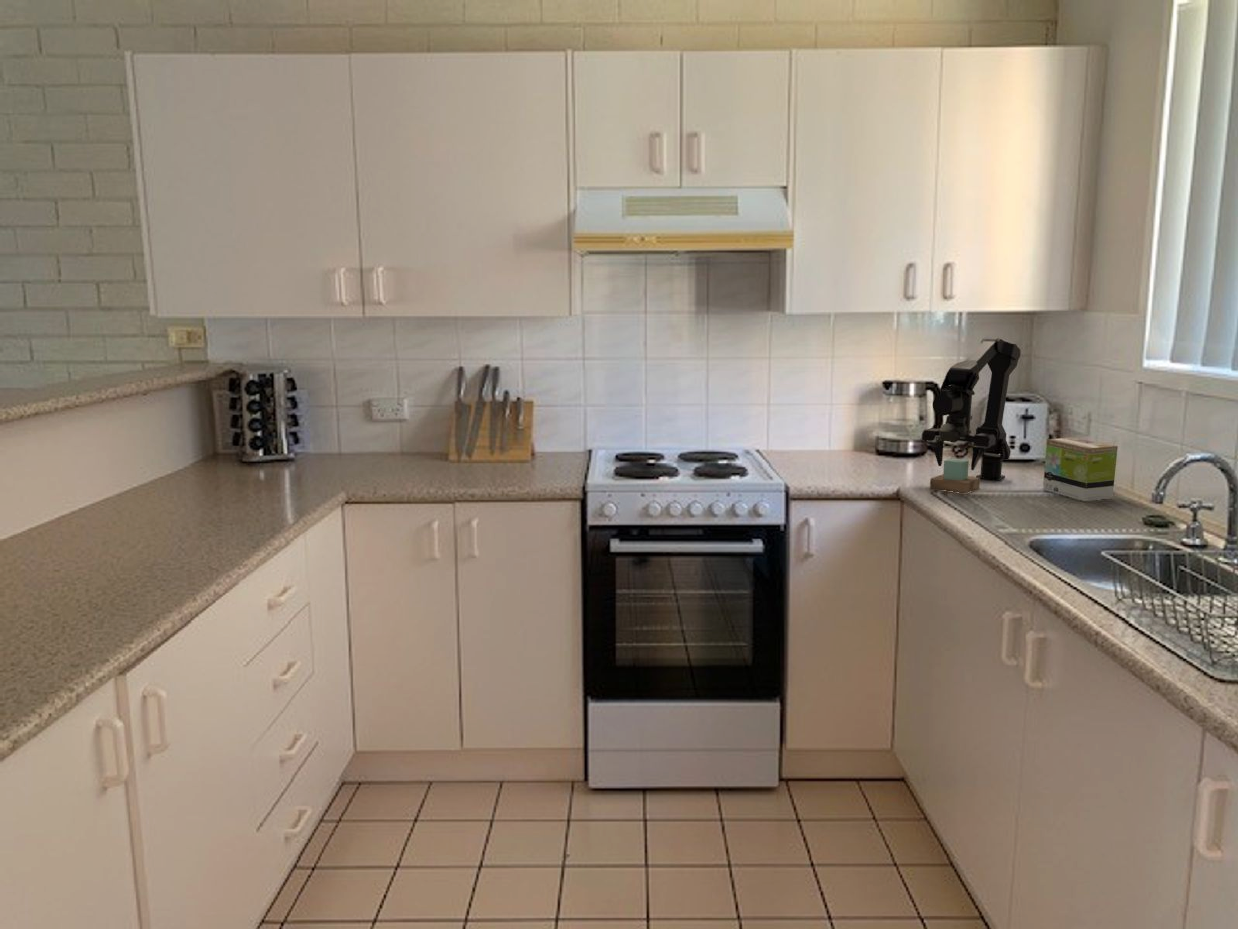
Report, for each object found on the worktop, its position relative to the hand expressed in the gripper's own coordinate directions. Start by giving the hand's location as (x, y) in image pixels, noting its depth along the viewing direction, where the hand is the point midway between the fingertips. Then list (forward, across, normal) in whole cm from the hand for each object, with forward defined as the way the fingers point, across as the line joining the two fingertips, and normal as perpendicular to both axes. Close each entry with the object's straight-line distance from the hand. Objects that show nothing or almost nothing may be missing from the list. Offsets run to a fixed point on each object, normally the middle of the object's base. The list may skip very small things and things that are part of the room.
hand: (956, 468), depth 257 cm
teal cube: (+3, 0, 0) cm, 3 cm away
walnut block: (+6, 0, 0) cm, 6 cm away
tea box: (+6, +28, +14) cm, 32 cm away
